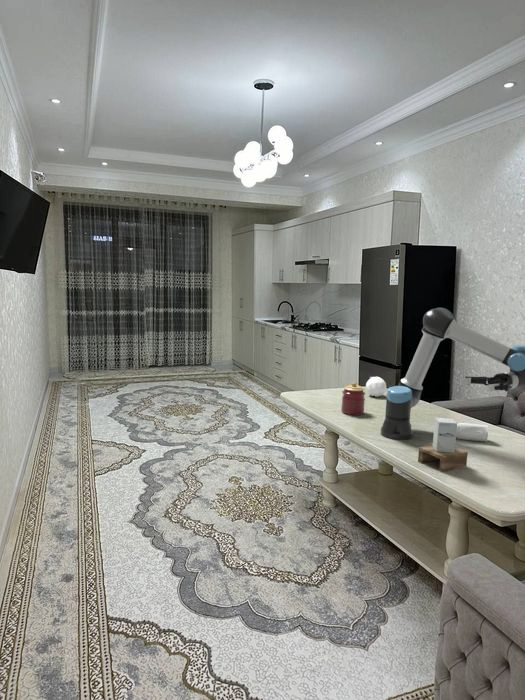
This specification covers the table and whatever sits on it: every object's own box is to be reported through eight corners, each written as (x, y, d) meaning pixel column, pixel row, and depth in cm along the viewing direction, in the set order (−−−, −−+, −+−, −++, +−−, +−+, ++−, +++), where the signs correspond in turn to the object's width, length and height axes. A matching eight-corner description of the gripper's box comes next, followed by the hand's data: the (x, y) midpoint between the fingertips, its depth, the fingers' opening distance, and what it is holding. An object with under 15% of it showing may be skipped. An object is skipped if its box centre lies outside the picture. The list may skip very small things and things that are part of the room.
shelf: (417, 461, 204) (419, 447, 203) (440, 456, 211) (441, 442, 210) (443, 471, 193) (444, 457, 192) (466, 466, 200) (467, 452, 199)
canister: (362, 410, 285) (364, 380, 282) (365, 416, 272) (367, 385, 270) (340, 409, 286) (342, 379, 284) (341, 414, 273) (343, 384, 271)
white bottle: (443, 435, 242) (444, 419, 241) (484, 439, 237) (485, 423, 236) (445, 439, 234) (446, 423, 233) (487, 443, 230) (489, 427, 229)
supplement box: (435, 452, 198) (438, 421, 196) (432, 446, 205) (434, 417, 203) (454, 453, 197) (457, 423, 195) (450, 447, 204) (453, 418, 202)
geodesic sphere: (358, 388, 319) (371, 373, 315) (362, 384, 332) (375, 369, 327) (374, 403, 316) (389, 388, 311) (378, 398, 329) (392, 384, 324)
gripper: (531, 395, 206) (500, 400, 195) (479, 384, 227) (448, 387, 217) (533, 378, 205) (502, 381, 194) (480, 368, 226) (450, 371, 216)
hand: (474, 385), depth 205 cm, fingers open, 13 cm apart
